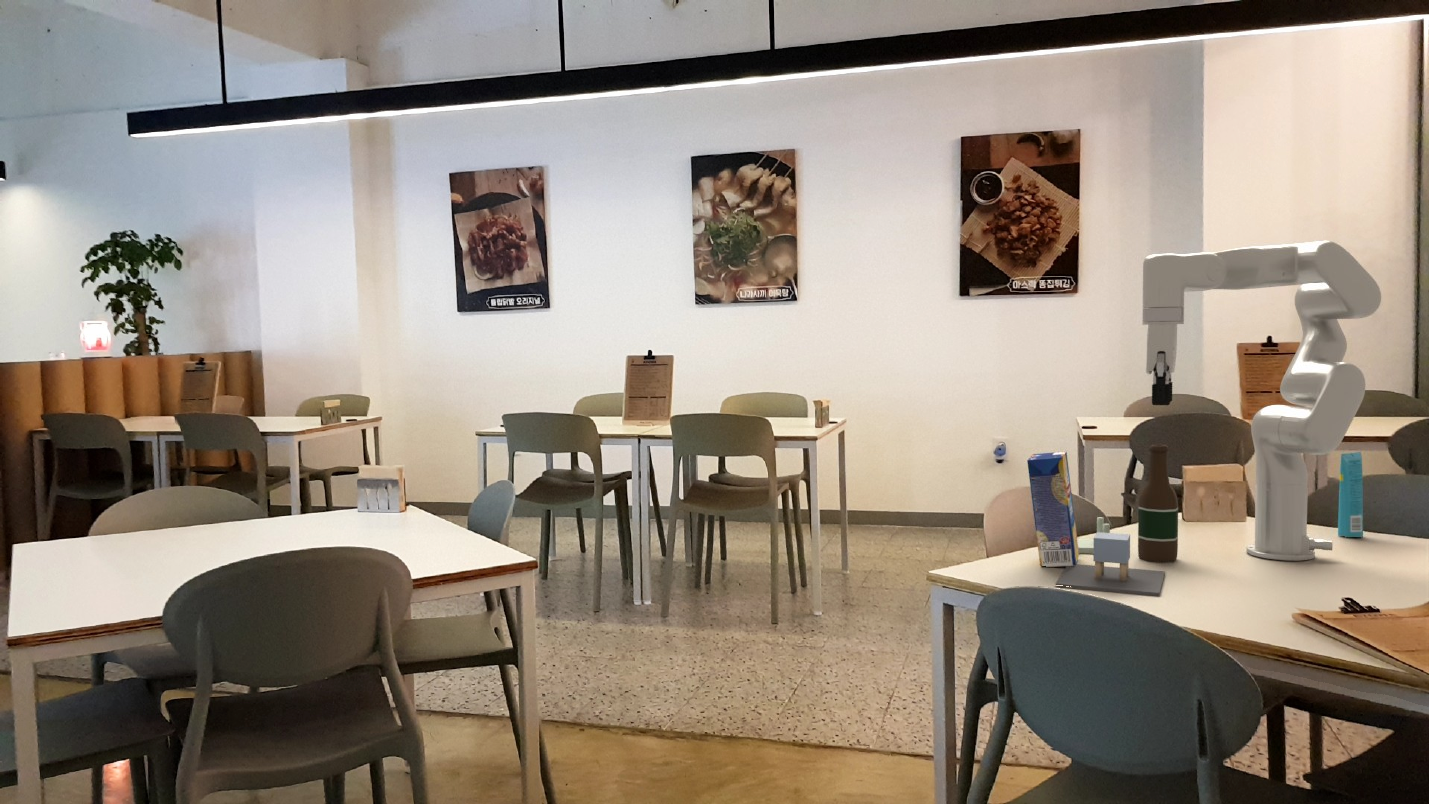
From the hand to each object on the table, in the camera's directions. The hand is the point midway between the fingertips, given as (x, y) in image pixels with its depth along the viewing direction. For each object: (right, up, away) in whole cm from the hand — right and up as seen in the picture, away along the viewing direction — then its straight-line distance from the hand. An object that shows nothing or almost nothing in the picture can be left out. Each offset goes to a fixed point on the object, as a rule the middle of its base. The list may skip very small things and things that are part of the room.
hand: (1162, 403), depth 202 cm
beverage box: (-17, -33, +9) cm, 38 cm away
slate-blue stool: (-13, -34, -7) cm, 36 cm away
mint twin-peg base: (-7, -32, +22) cm, 40 cm away
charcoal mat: (-13, -34, -7) cm, 37 cm away
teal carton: (+56, -31, +29) cm, 70 cm away
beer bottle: (+4, -33, +11) cm, 35 cm away
